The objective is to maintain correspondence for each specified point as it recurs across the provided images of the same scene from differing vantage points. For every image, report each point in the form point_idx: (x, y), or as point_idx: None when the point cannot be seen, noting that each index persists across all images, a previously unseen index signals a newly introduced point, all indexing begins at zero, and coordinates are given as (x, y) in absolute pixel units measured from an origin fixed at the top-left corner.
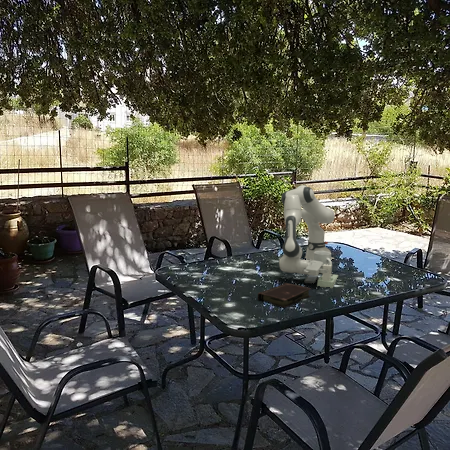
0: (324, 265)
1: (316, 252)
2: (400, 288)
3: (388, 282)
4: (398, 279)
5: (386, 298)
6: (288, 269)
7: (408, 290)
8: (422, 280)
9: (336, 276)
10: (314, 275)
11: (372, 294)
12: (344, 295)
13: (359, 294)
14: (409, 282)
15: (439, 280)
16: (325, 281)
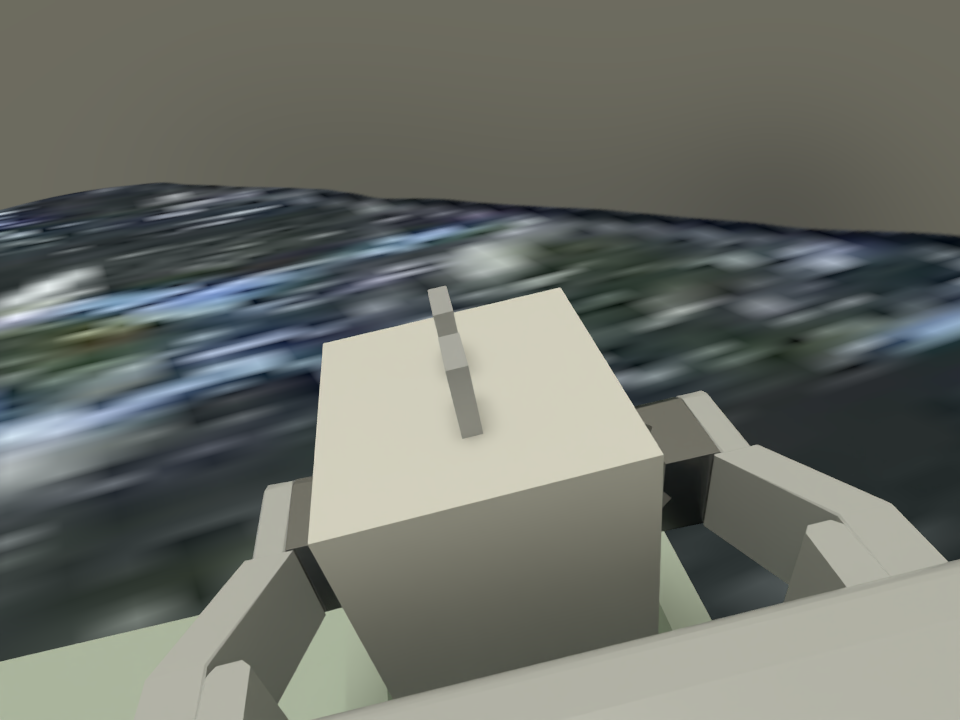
0: (596, 423)
1: None
2: (288, 228)
3: (148, 290)
4: (51, 280)
5: (566, 208)
6: None
7: (316, 205)
8: (70, 223)
9: (60, 662)
10: None
11: (541, 260)
12: (788, 357)
13: (622, 301)
14: (127, 239)
15: (65, 198)
16: (706, 614)
